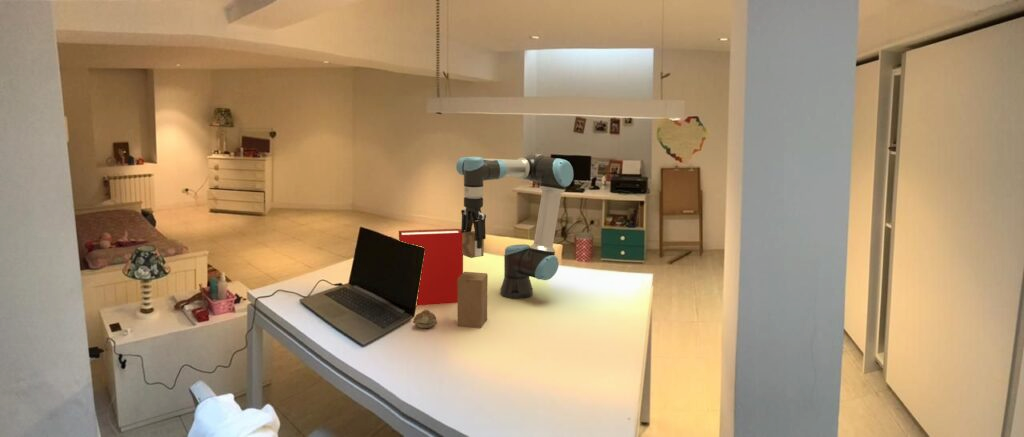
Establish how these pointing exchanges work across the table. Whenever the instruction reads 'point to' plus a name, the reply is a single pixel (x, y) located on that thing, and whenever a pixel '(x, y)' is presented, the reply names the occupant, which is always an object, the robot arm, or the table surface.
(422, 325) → the seashell
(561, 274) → the table surface
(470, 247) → the walnut block
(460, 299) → the wooden block
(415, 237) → the book
